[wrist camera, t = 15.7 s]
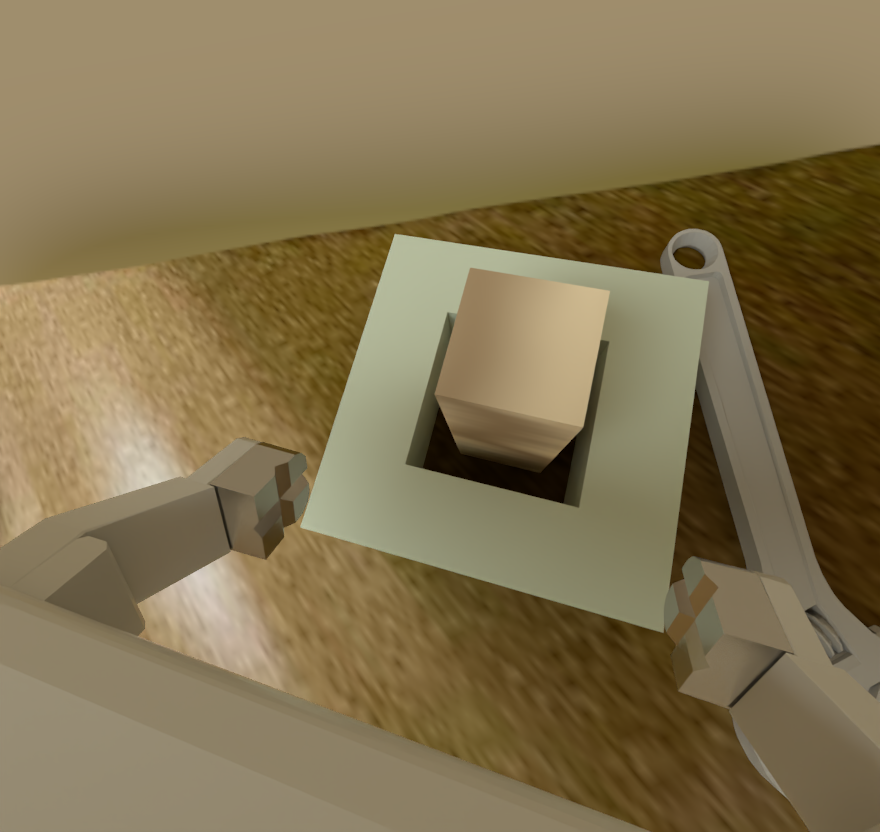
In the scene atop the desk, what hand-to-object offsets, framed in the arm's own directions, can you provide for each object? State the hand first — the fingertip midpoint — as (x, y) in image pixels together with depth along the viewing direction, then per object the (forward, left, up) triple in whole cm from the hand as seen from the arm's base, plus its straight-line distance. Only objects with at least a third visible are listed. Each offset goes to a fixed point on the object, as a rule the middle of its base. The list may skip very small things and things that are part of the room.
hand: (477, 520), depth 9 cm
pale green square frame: (0, -5, -12) cm, 13 cm away
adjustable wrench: (-12, -5, -12) cm, 18 cm away
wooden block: (0, -5, -12) cm, 13 cm away
